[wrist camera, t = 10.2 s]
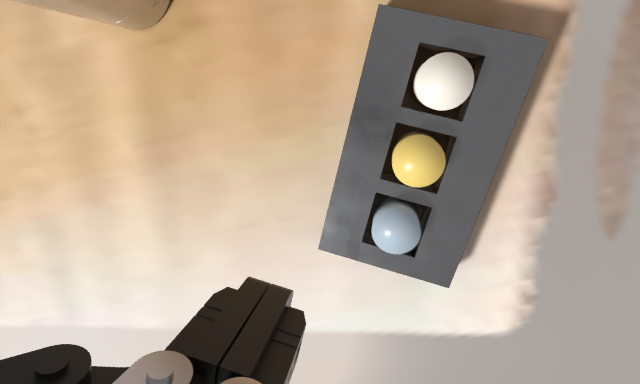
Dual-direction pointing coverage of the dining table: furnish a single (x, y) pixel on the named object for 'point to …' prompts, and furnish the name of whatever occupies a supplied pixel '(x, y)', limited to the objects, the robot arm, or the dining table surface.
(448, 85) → the button ivory
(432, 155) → the button mustard
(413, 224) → the button blue
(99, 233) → the dining table surface
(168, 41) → the dining table surface
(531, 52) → the panel
